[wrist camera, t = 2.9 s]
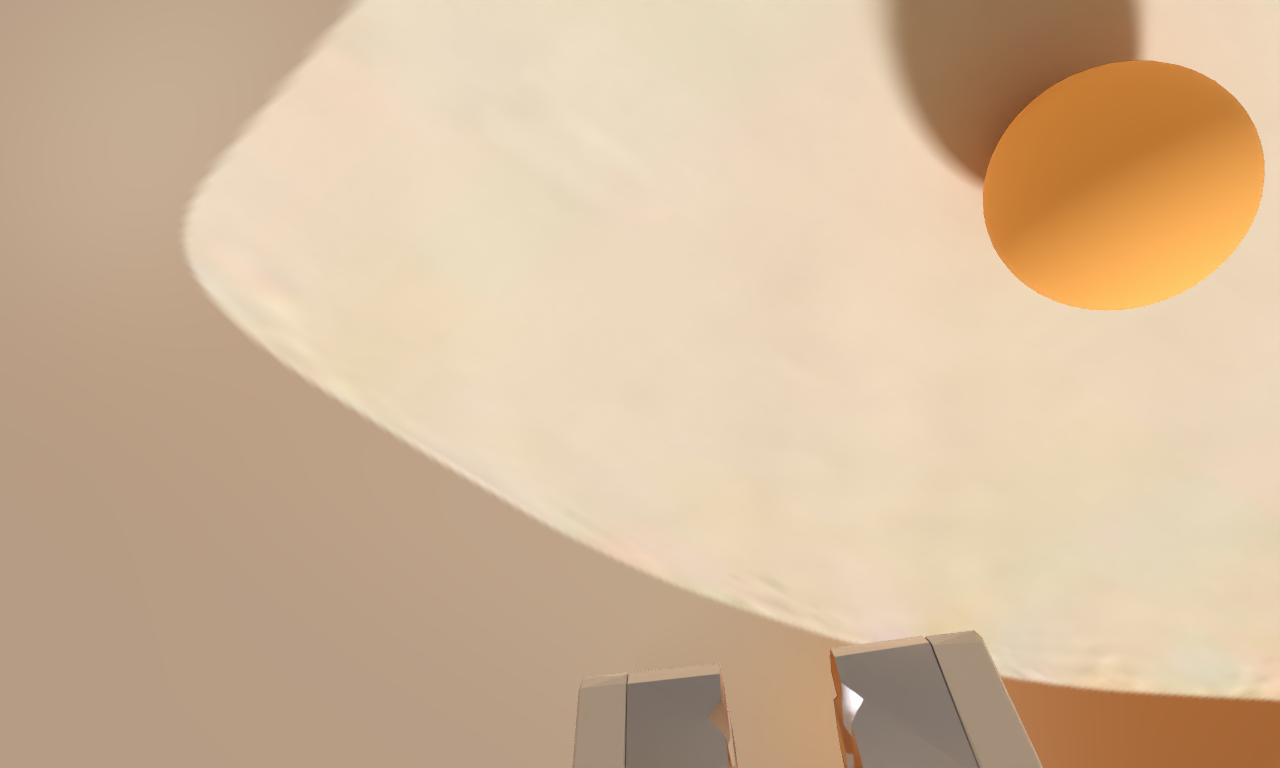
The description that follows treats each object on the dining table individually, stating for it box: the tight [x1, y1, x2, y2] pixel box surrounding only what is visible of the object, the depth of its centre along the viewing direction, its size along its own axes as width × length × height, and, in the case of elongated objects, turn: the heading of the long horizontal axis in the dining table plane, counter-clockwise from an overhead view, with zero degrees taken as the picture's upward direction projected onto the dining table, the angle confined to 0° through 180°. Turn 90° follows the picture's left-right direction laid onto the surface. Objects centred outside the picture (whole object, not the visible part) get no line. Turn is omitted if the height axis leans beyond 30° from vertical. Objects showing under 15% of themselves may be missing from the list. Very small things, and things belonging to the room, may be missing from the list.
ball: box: [983, 61, 1265, 310], centre depth 19 cm, size 6×6×6 cm
